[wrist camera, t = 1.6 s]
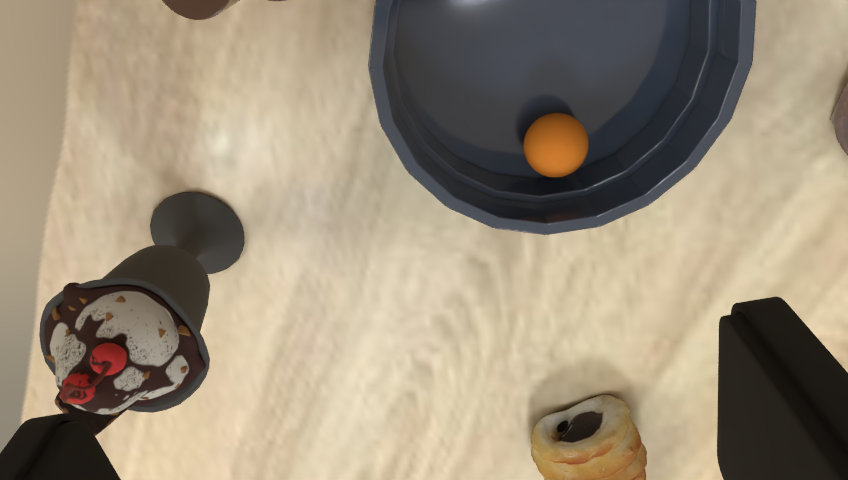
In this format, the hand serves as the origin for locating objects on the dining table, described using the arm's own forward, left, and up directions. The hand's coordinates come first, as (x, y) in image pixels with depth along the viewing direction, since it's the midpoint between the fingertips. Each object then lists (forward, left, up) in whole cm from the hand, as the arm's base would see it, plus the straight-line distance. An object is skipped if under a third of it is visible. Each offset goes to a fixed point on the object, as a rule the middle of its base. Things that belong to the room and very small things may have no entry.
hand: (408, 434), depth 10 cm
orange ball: (+5, +6, -22) cm, 23 cm away
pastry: (+26, +7, -24) cm, 36 cm away
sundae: (+7, -13, -24) cm, 29 cm away
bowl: (0, +6, -24) cm, 25 cm away
